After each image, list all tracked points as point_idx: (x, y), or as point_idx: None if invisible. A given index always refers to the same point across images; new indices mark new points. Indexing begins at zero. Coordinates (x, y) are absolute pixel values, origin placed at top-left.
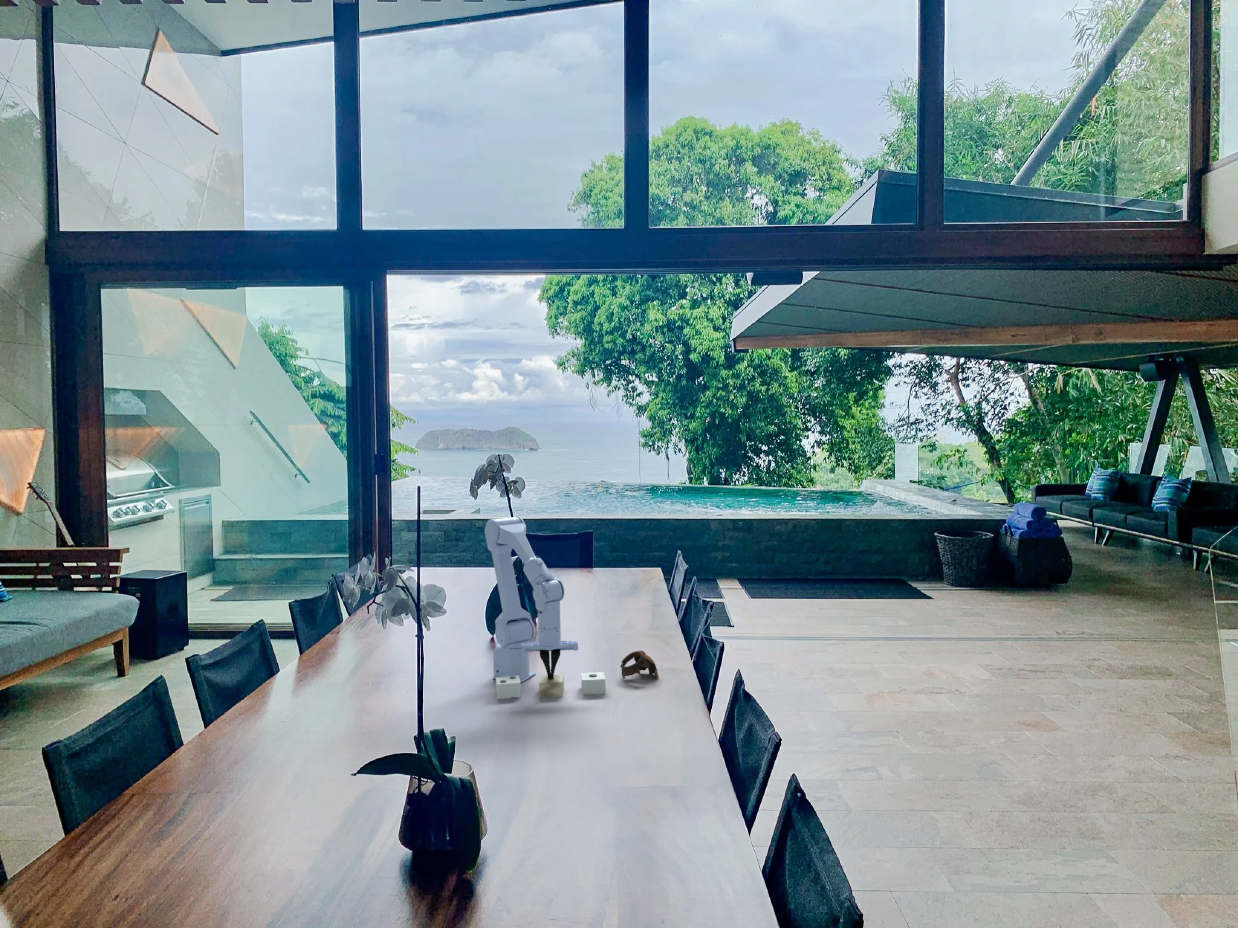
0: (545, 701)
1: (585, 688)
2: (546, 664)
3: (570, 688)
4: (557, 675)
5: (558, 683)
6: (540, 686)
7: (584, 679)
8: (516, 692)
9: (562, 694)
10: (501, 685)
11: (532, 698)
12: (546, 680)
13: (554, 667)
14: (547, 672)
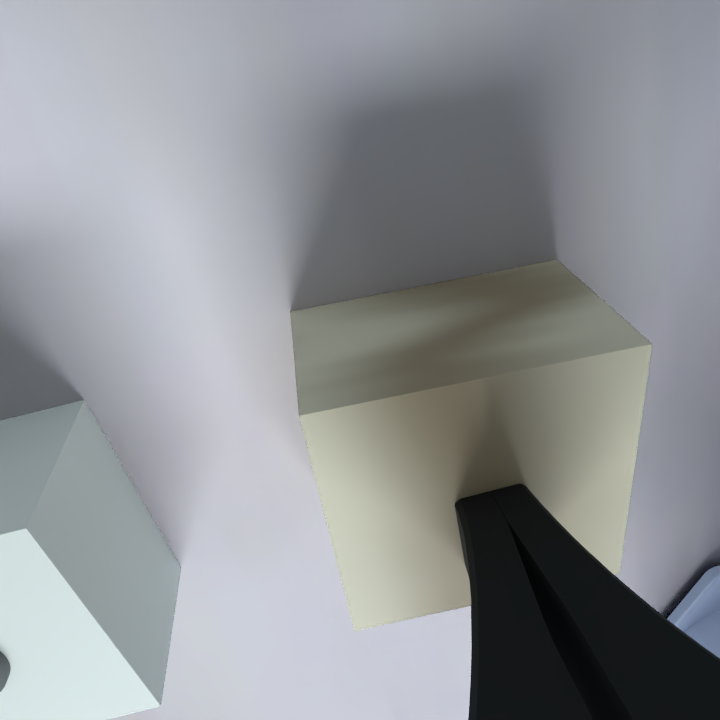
0: (470, 111)
1: (23, 455)
2: (673, 664)
3: (275, 523)
4: (422, 606)
5: (355, 390)
6: (601, 321)
7: (2, 554)
8: None
9: (293, 322)
10: None
11: (633, 206)
12: (543, 443)
13: (487, 643)
14: (575, 546)
